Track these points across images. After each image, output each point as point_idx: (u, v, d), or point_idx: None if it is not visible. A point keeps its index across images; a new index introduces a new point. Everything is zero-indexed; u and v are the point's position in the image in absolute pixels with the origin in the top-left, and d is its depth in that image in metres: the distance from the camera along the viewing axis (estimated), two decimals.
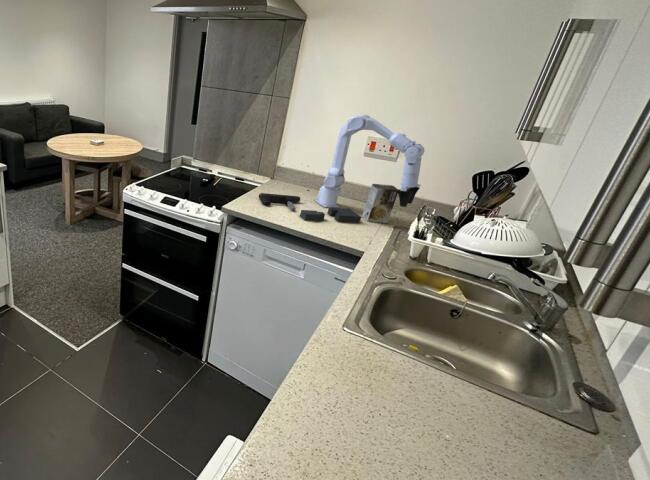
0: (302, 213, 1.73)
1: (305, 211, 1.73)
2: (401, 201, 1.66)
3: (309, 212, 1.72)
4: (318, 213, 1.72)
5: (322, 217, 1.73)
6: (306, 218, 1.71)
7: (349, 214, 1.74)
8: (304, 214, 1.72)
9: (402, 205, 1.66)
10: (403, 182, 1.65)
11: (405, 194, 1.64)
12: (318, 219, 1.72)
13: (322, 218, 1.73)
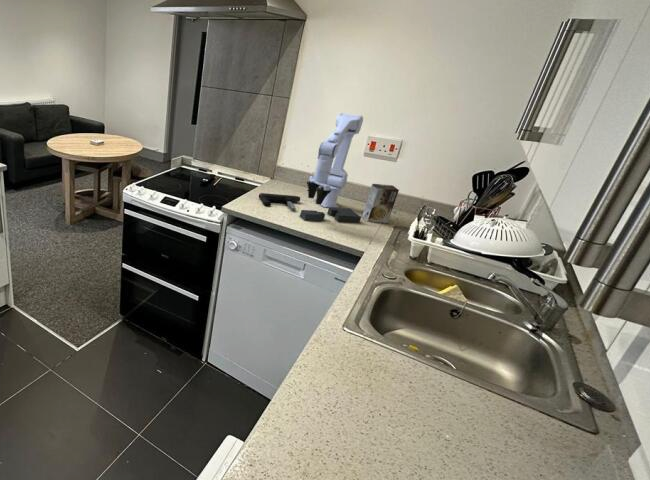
0: (302, 213, 1.73)
1: (305, 211, 1.73)
2: None
3: (309, 212, 1.72)
4: (318, 213, 1.72)
5: (322, 217, 1.73)
6: (306, 218, 1.71)
7: (349, 214, 1.74)
8: (304, 214, 1.72)
9: None
10: None
11: None
12: (318, 219, 1.72)
13: (322, 218, 1.73)
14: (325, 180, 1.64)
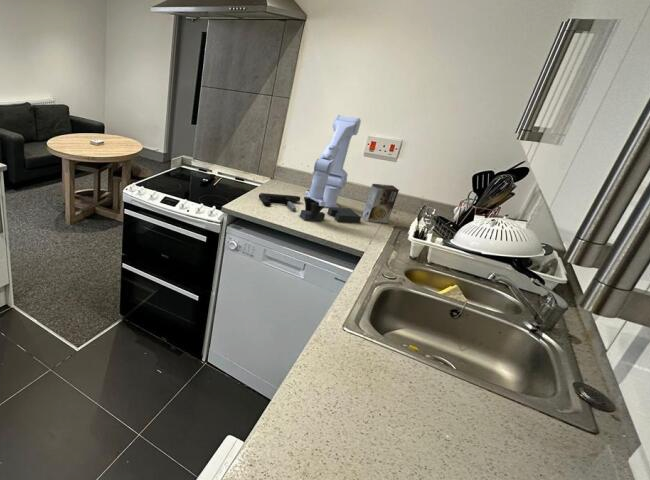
0: (302, 213, 1.73)
1: (305, 211, 1.73)
2: None
3: (309, 212, 1.72)
4: None
5: (322, 217, 1.73)
6: (306, 218, 1.71)
7: (349, 214, 1.74)
8: (304, 214, 1.72)
9: None
10: None
11: None
12: (318, 219, 1.71)
13: (322, 218, 1.73)
14: (320, 196, 1.67)
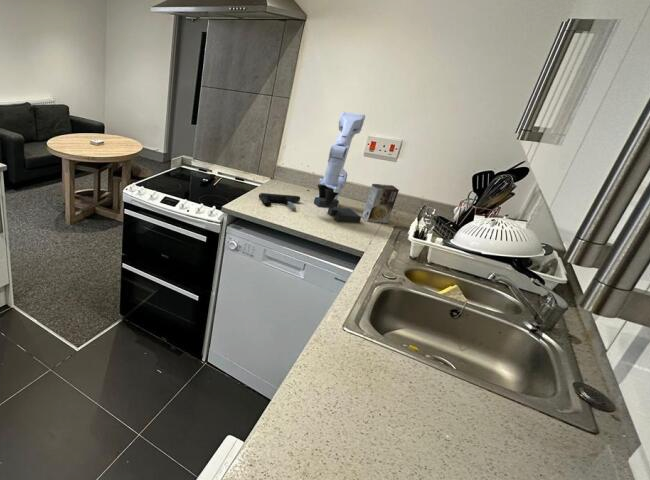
0: (316, 200, 1.74)
1: (319, 198, 1.74)
2: None
3: (323, 199, 1.73)
4: None
5: (336, 204, 1.74)
6: (320, 205, 1.72)
7: (349, 214, 1.74)
8: (318, 201, 1.73)
9: None
10: None
11: None
12: (332, 206, 1.72)
13: (336, 205, 1.74)
14: (335, 182, 1.68)
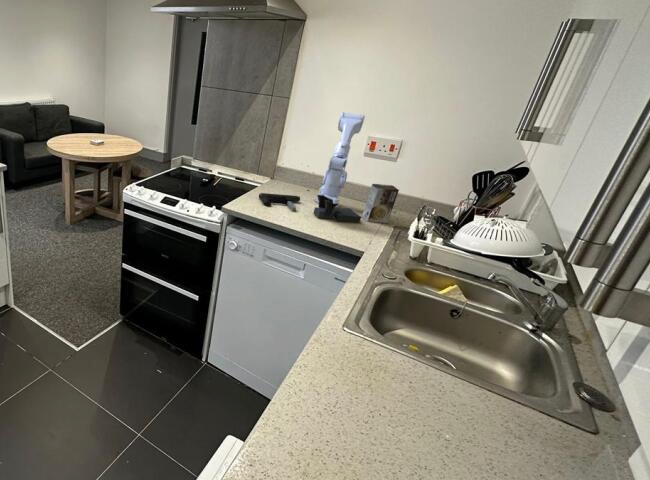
0: (316, 210, 1.77)
1: (318, 208, 1.76)
2: None
3: (322, 209, 1.75)
4: None
5: (335, 214, 1.76)
6: (320, 215, 1.74)
7: (349, 214, 1.74)
8: (318, 211, 1.75)
9: None
10: None
11: None
12: (331, 216, 1.75)
13: None
14: (334, 193, 1.70)
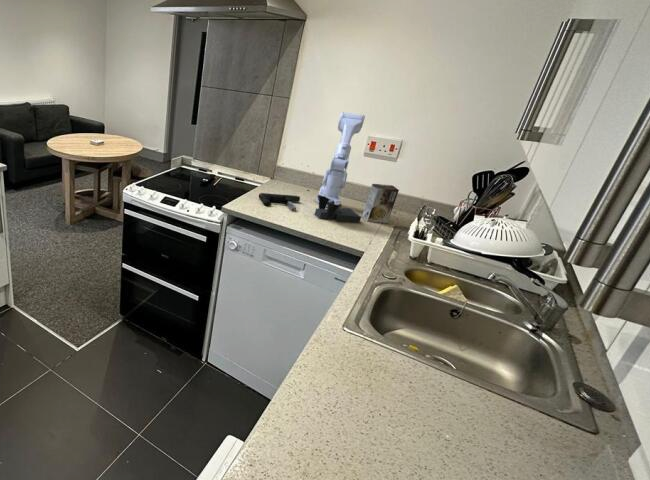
0: (317, 212, 1.77)
1: (320, 210, 1.76)
2: None
3: (324, 211, 1.76)
4: None
5: None
6: (321, 216, 1.74)
7: (349, 214, 1.74)
8: (319, 213, 1.75)
9: None
10: None
11: None
12: (333, 217, 1.75)
13: None
14: (335, 194, 1.70)
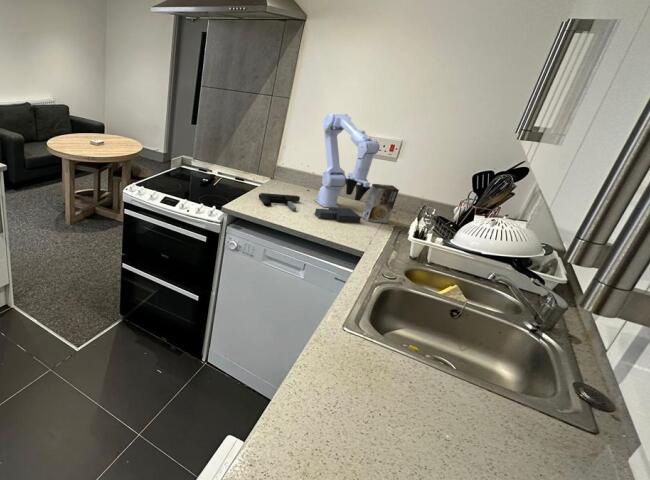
0: (317, 212, 1.77)
1: (320, 210, 1.76)
2: None
3: (324, 211, 1.76)
4: (333, 212, 1.75)
5: None
6: (321, 216, 1.74)
7: (349, 214, 1.74)
8: (319, 213, 1.75)
9: None
10: None
11: None
12: (333, 217, 1.75)
13: None
14: (364, 177, 1.70)
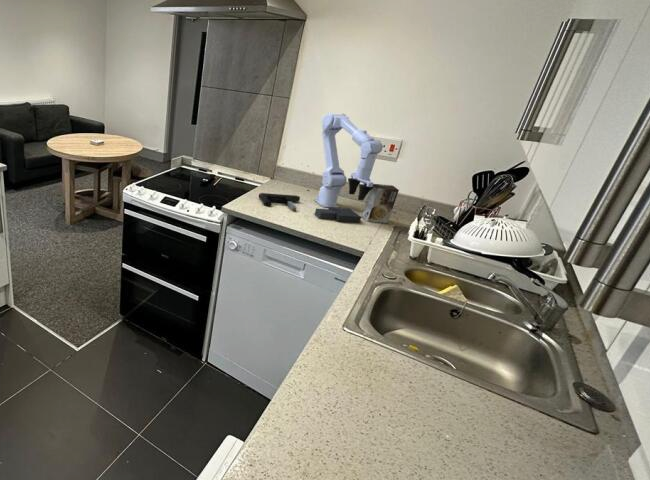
0: (317, 212, 1.77)
1: (320, 210, 1.76)
2: None
3: (324, 211, 1.76)
4: (333, 212, 1.75)
5: None
6: (321, 216, 1.74)
7: (349, 214, 1.74)
8: (319, 213, 1.75)
9: None
10: None
11: None
12: (333, 217, 1.75)
13: None
14: (367, 177, 1.71)
